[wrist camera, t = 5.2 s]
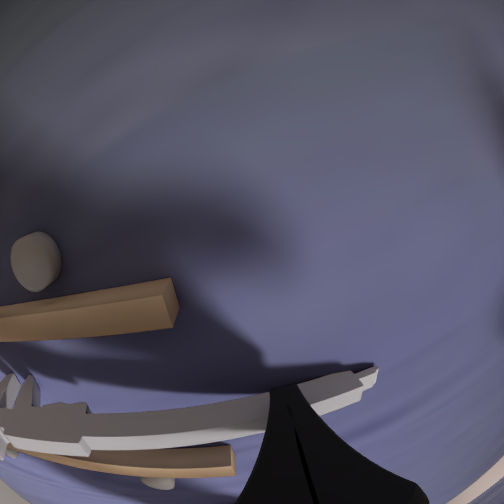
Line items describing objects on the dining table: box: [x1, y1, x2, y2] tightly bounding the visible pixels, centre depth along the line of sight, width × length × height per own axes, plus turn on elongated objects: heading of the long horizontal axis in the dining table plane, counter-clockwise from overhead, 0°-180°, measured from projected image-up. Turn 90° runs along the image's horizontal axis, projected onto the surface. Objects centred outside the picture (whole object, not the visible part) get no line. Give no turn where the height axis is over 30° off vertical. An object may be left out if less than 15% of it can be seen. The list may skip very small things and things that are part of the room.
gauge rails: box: [0, 231, 236, 490], centre depth 10 cm, size 20×27×2 cm
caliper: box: [0, 366, 379, 461], centre depth 9 cm, size 20×1×6 cm, turn 94°
